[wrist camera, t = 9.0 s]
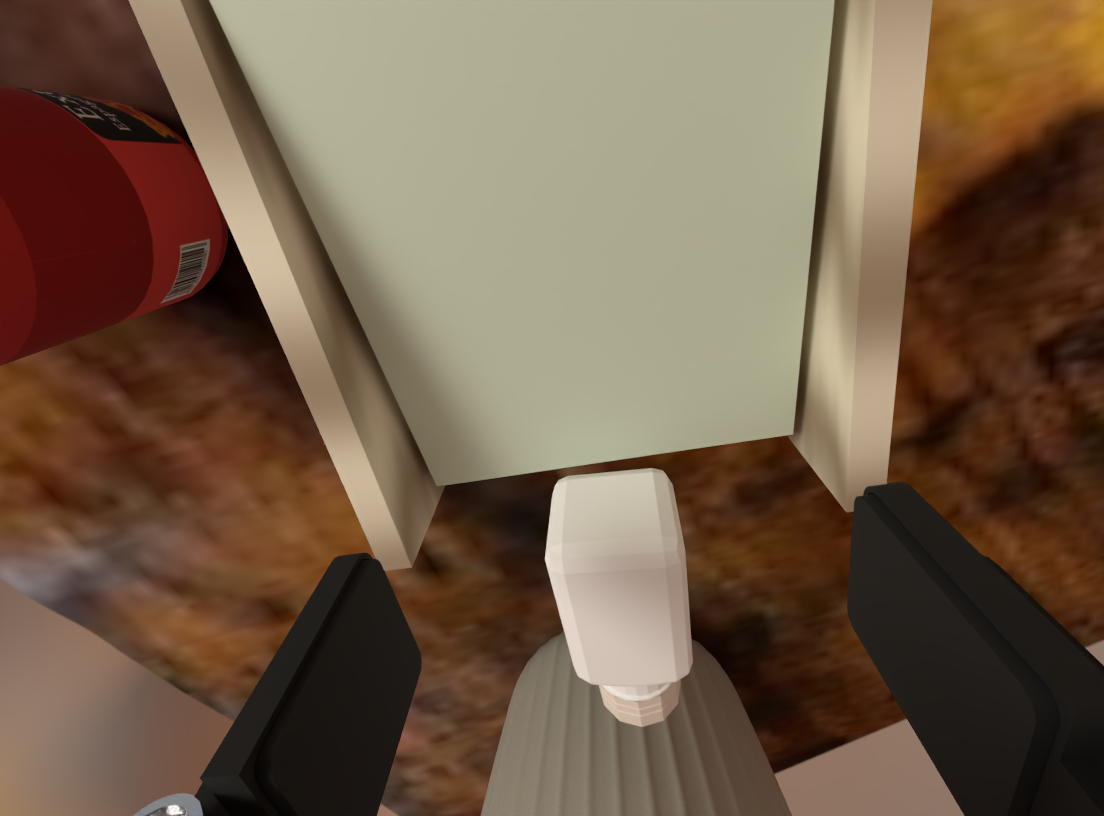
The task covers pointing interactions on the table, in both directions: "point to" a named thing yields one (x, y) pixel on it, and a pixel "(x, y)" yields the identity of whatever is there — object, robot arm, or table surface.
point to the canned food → (95, 218)
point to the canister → (627, 749)
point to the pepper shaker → (622, 588)
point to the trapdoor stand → (353, 369)
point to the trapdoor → (558, 210)
